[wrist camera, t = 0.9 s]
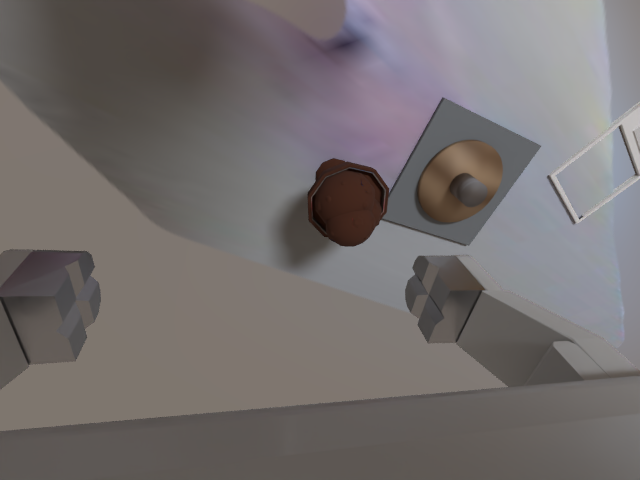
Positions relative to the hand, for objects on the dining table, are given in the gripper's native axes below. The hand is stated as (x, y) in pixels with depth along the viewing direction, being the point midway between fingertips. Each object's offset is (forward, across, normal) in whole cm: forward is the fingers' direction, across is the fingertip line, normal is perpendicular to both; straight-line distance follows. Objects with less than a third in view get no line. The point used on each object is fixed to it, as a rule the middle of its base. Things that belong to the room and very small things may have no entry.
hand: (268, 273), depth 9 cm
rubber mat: (+42, -34, +13) cm, 55 cm away
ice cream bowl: (+42, -13, +14) cm, 46 cm away
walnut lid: (+41, -34, +13) cm, 55 cm away
